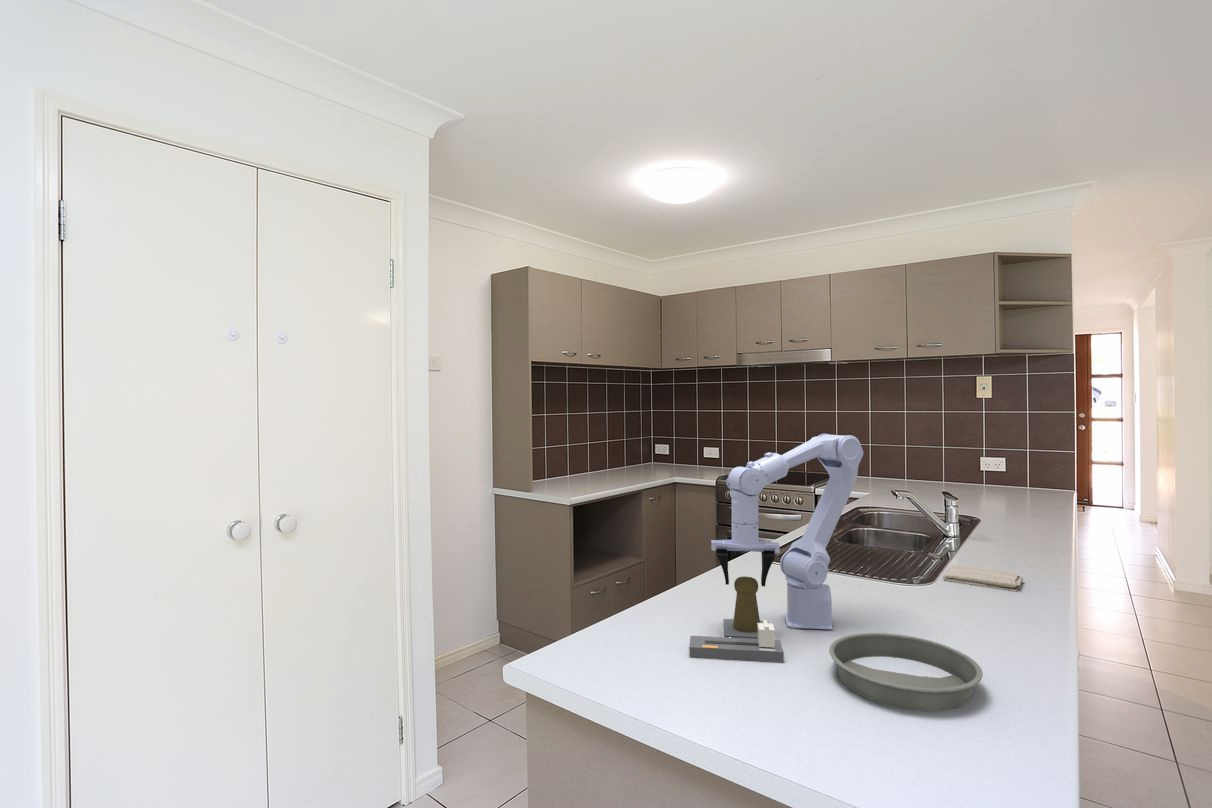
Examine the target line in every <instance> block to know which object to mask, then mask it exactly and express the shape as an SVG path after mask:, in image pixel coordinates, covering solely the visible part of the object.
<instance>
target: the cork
mask: <svg viewBox="0 0 1212 808" xmlns="http://www.w3.org/2000/svg"><path fill="white" fill-rule="evenodd" d="M733 586H734V587H733V589H734V590H735V591H736V597H735V604H734V605H735V606H734V615H733V619H734V621H733V628H734V629H735V630H737V631H740V632H746V633H752V632H757V631H758V628H757V623H760V620H761V619H760V614H759V613H760V612H759V606H758V599H757V592H758V591H759V582H758V581H757V579H756V578H754V577H752V576H739V577H736V579H734V583H733Z"/></svg>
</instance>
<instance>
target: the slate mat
mask: <svg viewBox="0 0 1212 808" xmlns="http://www.w3.org/2000/svg"><path fill="white" fill-rule="evenodd" d="M722 620H723V622H724V623H723V637H731V638H749V639H758V631H757V632H752V633H746V632H740V631H737V630H735V629H734V628H733V621H734V618H723V619H722ZM767 622H768V623H769V620H767ZM760 623H763V620H761V619H760Z"/></svg>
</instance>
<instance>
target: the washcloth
mask: <svg viewBox="0 0 1212 808" xmlns="http://www.w3.org/2000/svg"><path fill="white" fill-rule="evenodd" d="M942 578H943V581H945V582H949V583H955V584H956V583H957V584H963V585H970V586H976V587H983V588H989V589H997V590H1002V591H1008V592H1013V593H1014V592H1016V593H1017V592H1018V591H1019V590H1020V589H1021V586H1022V584H1023V580H1024V577H1023V576H1020V575H1019V573H1011V572H1007V571H1003V570H999V569H997V568H993V569H992V568H985V567H979V566H971V565H959V564H953V565H950V566H949V567H948V570H947V571H945V573H944V574H943V577H942Z"/></svg>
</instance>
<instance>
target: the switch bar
mask: <svg viewBox="0 0 1212 808" xmlns="http://www.w3.org/2000/svg"><path fill="white" fill-rule="evenodd" d="M784 654H785V652H784V649H783V646H782V642H781V639H775V648H773V647H759V644H758V639H749V638H729V637H724V636H705V635H704V636H703V635H690V639H689V658H695V659H696V658H699V659H713V658H716V659H715V660H717V659H718V660H731V659H732V660H733V661H734V660H735V661H751V660H752V661H754V662H767V661H770V663H771V662H773V663H785V662H784V659H785V658H784V656H785V655H784ZM732 660H731V661H732ZM752 661H751V662H752Z"/></svg>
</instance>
